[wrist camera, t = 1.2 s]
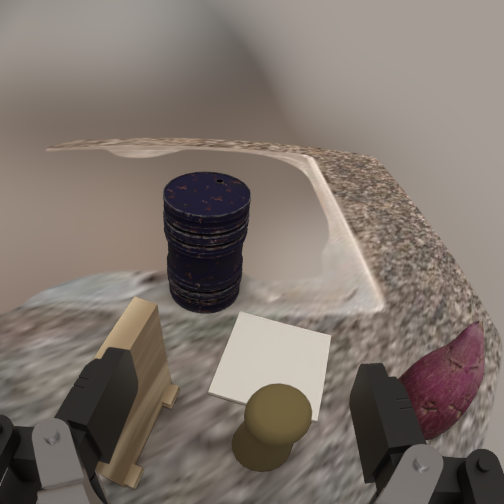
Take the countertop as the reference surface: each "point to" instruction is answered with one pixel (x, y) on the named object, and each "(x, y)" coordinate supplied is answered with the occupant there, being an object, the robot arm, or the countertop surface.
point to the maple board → (139, 387)
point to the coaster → (271, 360)
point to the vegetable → (446, 381)
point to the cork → (271, 426)
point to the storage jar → (205, 239)
